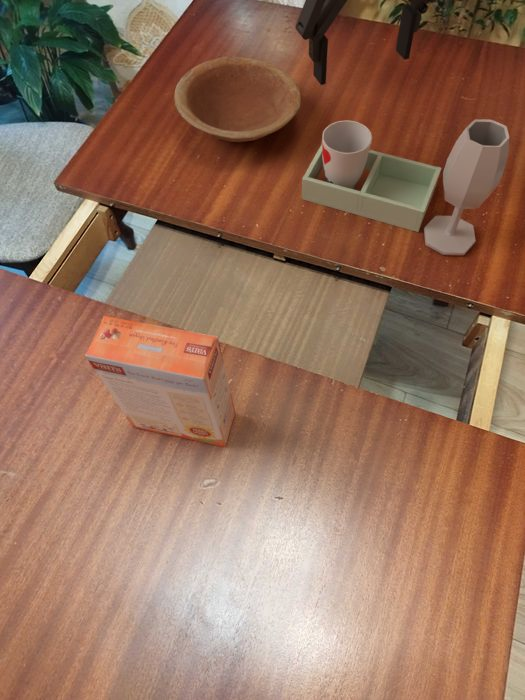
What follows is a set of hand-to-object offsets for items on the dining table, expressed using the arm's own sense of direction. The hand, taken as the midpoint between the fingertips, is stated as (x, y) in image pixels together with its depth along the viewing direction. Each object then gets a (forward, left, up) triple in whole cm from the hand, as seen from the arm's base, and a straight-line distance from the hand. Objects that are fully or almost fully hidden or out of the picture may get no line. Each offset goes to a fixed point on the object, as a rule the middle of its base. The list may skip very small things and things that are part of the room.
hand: (361, 67), depth 80 cm
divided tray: (-5, +2, -22) cm, 22 cm away
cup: (+1, +2, -21) cm, 21 cm away
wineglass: (-20, +7, -22) cm, 31 cm away
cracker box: (+6, +53, -22) cm, 58 cm away
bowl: (+25, -7, -22) cm, 34 cm away
